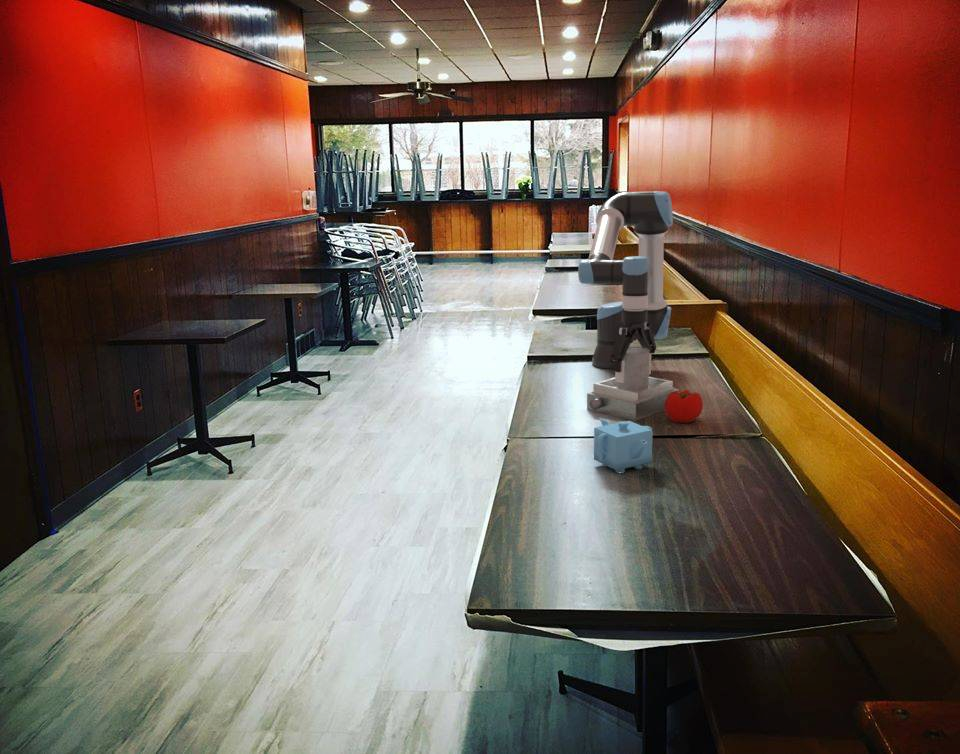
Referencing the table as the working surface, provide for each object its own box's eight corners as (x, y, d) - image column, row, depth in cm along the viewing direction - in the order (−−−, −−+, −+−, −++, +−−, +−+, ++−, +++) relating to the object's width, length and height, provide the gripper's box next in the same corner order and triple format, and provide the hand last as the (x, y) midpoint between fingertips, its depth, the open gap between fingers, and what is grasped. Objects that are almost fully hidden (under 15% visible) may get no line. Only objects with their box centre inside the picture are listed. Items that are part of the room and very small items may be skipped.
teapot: (618, 483, 185) (618, 437, 183) (574, 460, 201) (574, 417, 198) (671, 470, 192) (672, 425, 190) (625, 449, 208) (626, 407, 205)
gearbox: (630, 394, 259) (630, 371, 257) (677, 404, 246) (678, 380, 244) (580, 411, 242) (580, 386, 240) (629, 423, 229) (629, 397, 227)
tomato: (708, 419, 230) (709, 390, 228) (689, 428, 223) (690, 399, 221) (675, 413, 237) (676, 385, 235) (656, 421, 230) (657, 392, 228)
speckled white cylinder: (647, 385, 248) (648, 346, 245) (650, 393, 238) (651, 353, 235) (616, 385, 249) (616, 346, 246) (618, 393, 239) (618, 353, 236)
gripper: (648, 302, 248) (646, 368, 254) (598, 313, 232) (597, 383, 237) (669, 304, 243) (667, 372, 248) (619, 316, 226) (618, 388, 232)
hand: (633, 378), depth 243 cm, fingers open, 13 cm apart
